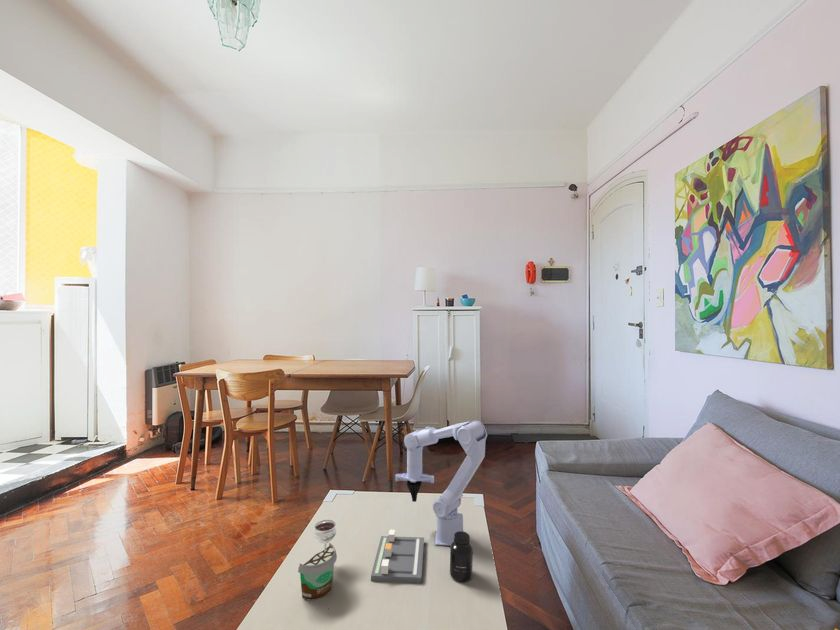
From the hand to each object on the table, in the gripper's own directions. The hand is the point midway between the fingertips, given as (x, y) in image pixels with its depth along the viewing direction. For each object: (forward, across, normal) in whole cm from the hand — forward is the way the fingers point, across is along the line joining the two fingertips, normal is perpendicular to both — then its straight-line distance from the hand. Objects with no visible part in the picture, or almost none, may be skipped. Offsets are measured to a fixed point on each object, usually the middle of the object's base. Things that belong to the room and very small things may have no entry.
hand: (414, 500), depth 140 cm
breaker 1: (+8, -5, -28) cm, 30 cm away
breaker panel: (+9, -2, -20) cm, 22 cm away
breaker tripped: (+8, -6, -20) cm, 23 cm away
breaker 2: (+8, -6, -12) cm, 16 cm away
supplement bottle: (+10, +18, -25) cm, 32 cm away
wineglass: (+10, -26, -25) cm, 37 cm away
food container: (+10, -22, -36) cm, 44 cm away
